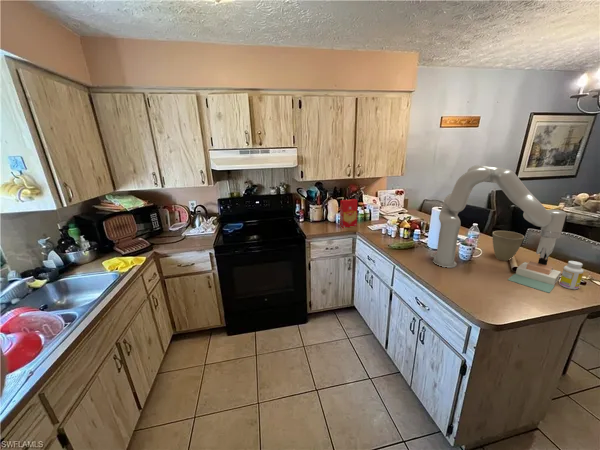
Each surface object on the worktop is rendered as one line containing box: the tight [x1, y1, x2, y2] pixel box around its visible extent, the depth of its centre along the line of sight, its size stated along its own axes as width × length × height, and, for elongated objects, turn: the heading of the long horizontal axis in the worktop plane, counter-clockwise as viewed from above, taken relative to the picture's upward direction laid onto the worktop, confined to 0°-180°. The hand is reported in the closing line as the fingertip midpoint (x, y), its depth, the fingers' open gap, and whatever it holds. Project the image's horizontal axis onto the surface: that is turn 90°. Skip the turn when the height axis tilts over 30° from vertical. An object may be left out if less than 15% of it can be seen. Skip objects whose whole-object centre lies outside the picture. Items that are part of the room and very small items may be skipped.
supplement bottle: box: [559, 260, 584, 290], centre depth 121 cm, size 7×7×13 cm
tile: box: [526, 261, 554, 275], centre depth 131 cm, size 9×6×2 cm, turn 35°
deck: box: [515, 261, 562, 285], centre depth 132 cm, size 15×12×4 cm
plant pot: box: [492, 230, 525, 262], centre depth 153 cm, size 15×15×16 cm
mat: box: [507, 273, 556, 294], centre depth 127 cm, size 16×10×1 cm, turn 35°
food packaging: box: [339, 198, 358, 229], centre depth 228 cm, size 15×5×25 cm, turn 109°
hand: (541, 265), depth 134 cm, fingers closed
